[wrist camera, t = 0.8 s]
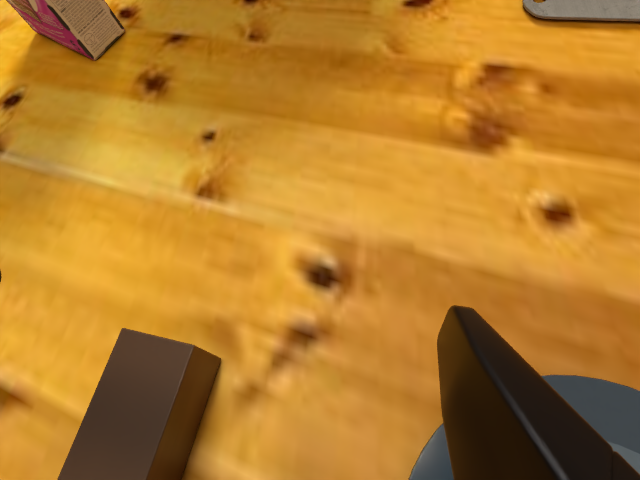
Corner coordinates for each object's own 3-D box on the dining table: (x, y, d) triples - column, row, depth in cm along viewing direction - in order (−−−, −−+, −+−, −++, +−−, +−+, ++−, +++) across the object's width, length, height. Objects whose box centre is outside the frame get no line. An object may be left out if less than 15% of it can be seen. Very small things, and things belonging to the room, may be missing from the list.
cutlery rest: (163, 534, 25) (121, 547, 22) (91, 506, 27) (41, 514, 23) (221, 358, 29) (194, 344, 26) (156, 342, 30) (121, 327, 27)
